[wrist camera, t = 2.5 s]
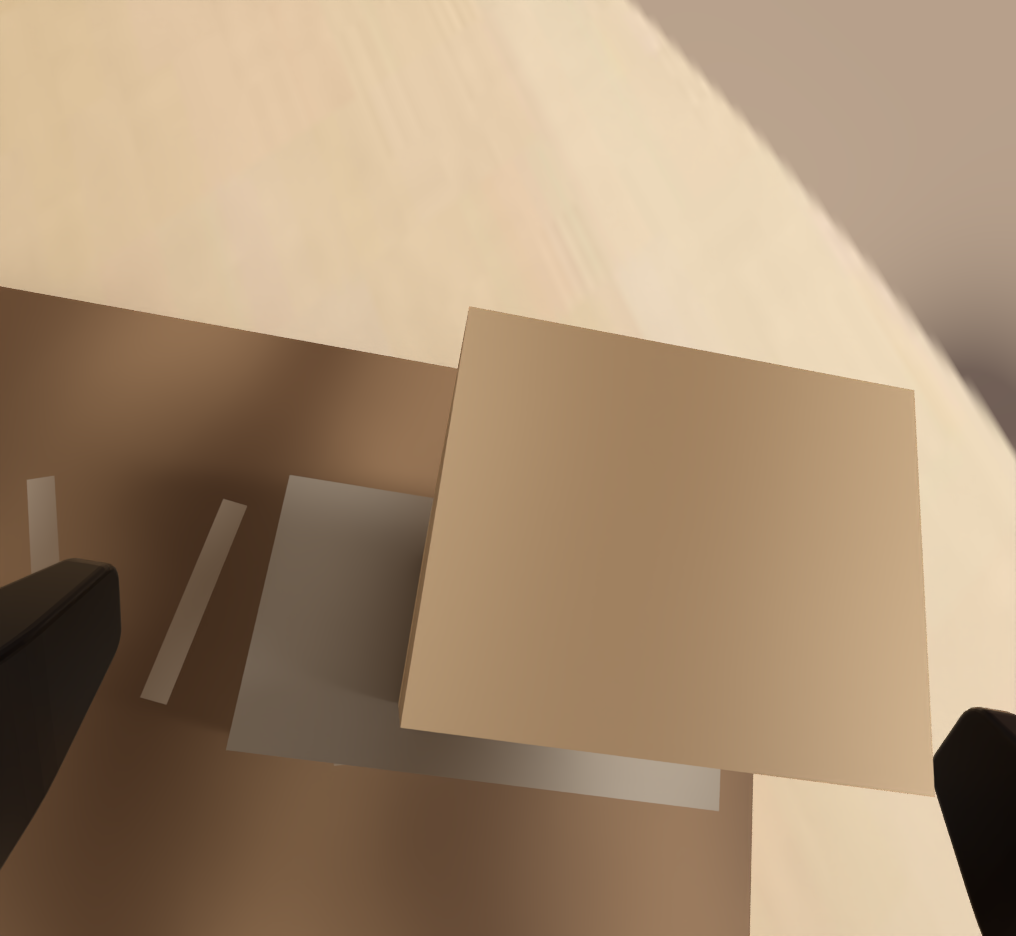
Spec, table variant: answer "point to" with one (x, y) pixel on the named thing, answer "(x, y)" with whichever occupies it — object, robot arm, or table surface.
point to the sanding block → (612, 582)
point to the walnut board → (223, 654)
